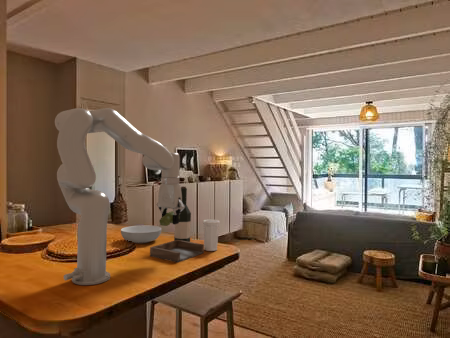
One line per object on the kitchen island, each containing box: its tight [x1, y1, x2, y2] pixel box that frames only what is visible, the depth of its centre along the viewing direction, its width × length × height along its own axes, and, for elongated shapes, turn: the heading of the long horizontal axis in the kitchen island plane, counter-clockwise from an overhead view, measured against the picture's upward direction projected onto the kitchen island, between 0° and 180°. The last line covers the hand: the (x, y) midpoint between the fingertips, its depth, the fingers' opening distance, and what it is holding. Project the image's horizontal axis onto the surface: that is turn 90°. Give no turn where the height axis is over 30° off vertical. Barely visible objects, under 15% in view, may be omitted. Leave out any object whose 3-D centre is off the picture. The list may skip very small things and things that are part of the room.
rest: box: [149, 240, 205, 263], centre depth 153 cm, size 19×16×4 cm
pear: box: [159, 210, 174, 227], centre depth 143 cm, size 6×5×10 cm
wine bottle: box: [173, 186, 192, 242], centre depth 170 cm, size 8×8×30 cm
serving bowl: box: [120, 224, 162, 244], centre depth 176 cm, size 21×21×7 cm
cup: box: [202, 219, 221, 252], centre depth 163 cm, size 8×8×14 cm
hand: (170, 222), depth 144 cm, fingers closed on pear, 5 cm apart
